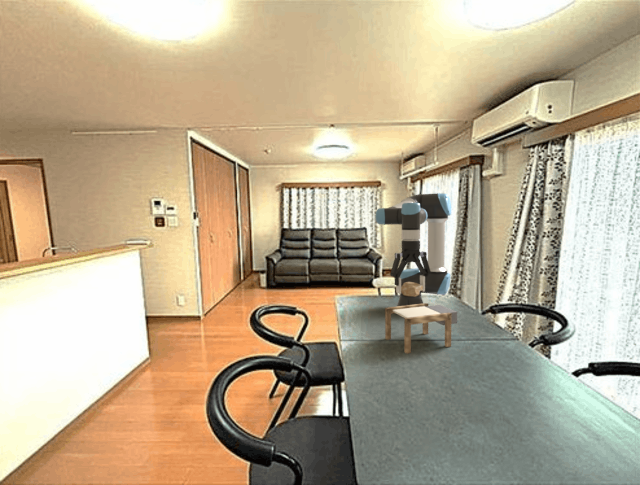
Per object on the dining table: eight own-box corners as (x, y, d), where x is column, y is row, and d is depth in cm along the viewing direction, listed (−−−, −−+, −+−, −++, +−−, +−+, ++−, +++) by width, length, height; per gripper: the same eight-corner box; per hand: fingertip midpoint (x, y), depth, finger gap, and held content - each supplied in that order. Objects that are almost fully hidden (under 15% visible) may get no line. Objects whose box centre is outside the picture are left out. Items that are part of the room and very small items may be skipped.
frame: (426, 332, 164) (426, 303, 163) (451, 346, 147) (451, 313, 146) (385, 338, 158) (385, 307, 156) (406, 353, 141) (406, 319, 140)
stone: (425, 292, 151) (425, 281, 151) (416, 297, 143) (416, 286, 142) (406, 290, 156) (406, 280, 156) (396, 295, 148) (396, 284, 147)
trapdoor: (438, 314, 163) (438, 304, 162) (458, 324, 150) (458, 312, 149) (392, 320, 156) (392, 309, 155) (409, 330, 143) (409, 318, 142)
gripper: (429, 238, 155) (429, 287, 157) (381, 240, 149) (381, 292, 151) (440, 239, 148) (439, 291, 150) (390, 241, 142) (390, 296, 144)
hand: (410, 292), depth 150 cm, fingers closed on stone, 11 cm apart
